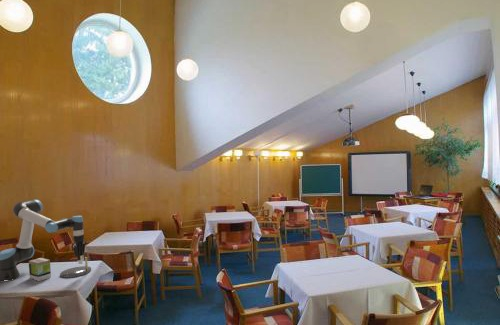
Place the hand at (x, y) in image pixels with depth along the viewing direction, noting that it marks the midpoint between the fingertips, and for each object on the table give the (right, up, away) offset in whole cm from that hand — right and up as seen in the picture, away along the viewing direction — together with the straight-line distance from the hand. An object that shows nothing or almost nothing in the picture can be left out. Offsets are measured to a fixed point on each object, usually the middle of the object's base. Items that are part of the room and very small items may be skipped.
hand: (80, 263), depth 265 cm
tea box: (-33, -12, +1) cm, 36 cm away
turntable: (-9, -11, +9) cm, 17 cm away
